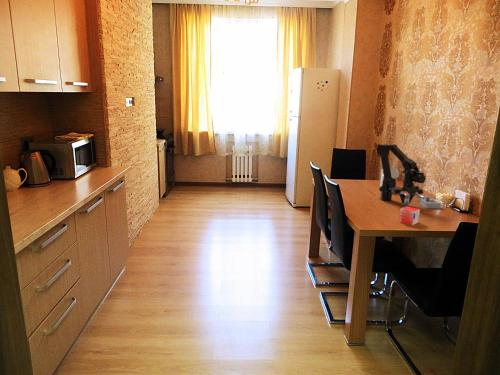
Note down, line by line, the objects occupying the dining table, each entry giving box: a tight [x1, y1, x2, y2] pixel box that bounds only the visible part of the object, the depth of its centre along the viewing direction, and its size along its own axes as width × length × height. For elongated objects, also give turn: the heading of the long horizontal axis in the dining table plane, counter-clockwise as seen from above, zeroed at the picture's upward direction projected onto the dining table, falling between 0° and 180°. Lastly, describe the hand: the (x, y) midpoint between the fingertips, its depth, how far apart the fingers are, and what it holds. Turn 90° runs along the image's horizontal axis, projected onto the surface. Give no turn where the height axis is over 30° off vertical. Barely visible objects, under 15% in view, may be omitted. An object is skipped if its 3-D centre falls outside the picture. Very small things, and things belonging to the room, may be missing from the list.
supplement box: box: [379, 173, 392, 188], centre depth 283 cm, size 7×7×13 cm
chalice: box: [380, 167, 400, 180], centre depth 297 cm, size 14×14×15 cm
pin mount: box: [417, 195, 431, 203], centre depth 250 cm, size 5×5×4 cm
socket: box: [419, 198, 442, 209], centre depth 242 cm, size 9×12×4 cm
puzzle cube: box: [398, 206, 421, 226], centre depth 207 cm, size 8×8×8 cm
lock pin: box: [415, 192, 427, 200], centre depth 253 cm, size 3×11×3 cm, turn 0°
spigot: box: [401, 193, 411, 207], centre depth 241 cm, size 5×5×8 cm
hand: (405, 203), depth 242 cm, fingers closed on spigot, 4 cm apart
